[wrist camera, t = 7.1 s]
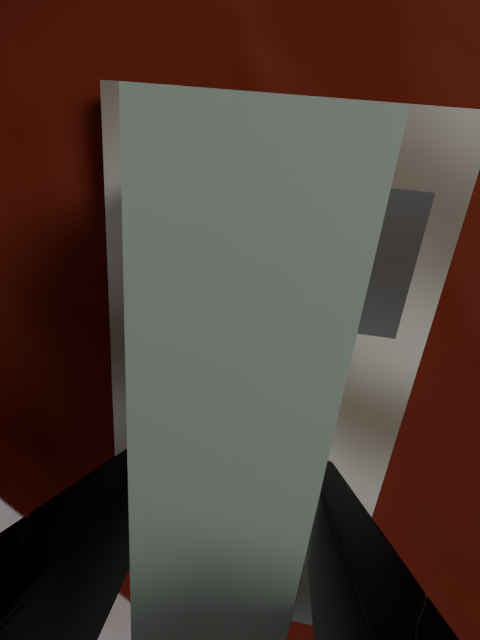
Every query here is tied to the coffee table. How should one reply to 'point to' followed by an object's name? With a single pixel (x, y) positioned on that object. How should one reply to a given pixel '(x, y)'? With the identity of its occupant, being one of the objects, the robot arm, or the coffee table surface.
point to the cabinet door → (239, 337)
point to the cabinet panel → (381, 299)
